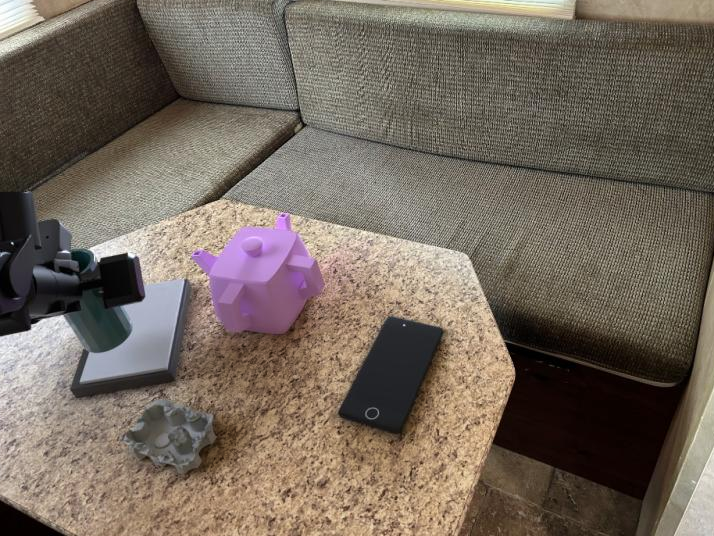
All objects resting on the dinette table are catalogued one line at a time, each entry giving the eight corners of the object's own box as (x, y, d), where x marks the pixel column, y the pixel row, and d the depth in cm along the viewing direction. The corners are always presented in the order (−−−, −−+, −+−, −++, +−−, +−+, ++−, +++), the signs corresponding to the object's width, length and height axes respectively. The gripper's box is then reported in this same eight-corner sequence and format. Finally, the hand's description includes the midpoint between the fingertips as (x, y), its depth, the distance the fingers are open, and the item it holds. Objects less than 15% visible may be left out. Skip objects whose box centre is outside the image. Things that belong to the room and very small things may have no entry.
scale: (75, 398, 86) (67, 386, 84) (107, 300, 101) (101, 289, 99) (175, 381, 86) (169, 369, 85) (191, 287, 102) (187, 275, 100)
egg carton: (123, 456, 78) (110, 439, 75) (161, 409, 83) (150, 390, 80) (190, 482, 74) (179, 464, 72) (225, 430, 79) (216, 412, 77)
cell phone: (337, 417, 79) (336, 413, 79) (388, 319, 92) (388, 315, 91) (400, 436, 76) (400, 431, 76) (444, 332, 89) (444, 327, 88)
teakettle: (237, 359, 89) (213, 299, 81) (203, 292, 100) (180, 234, 92) (340, 309, 95) (328, 249, 87) (297, 251, 106) (282, 194, 98)
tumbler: (108, 358, 82) (64, 289, 74) (72, 346, 84) (26, 277, 76) (142, 322, 86) (105, 254, 78) (107, 312, 89) (68, 244, 81)
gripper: (105, 203, 69) (149, 222, 84) (-69, 236, 67) (9, 250, 82) (122, 299, 68) (163, 301, 83) (-55, 336, 65) (21, 331, 81)
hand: (90, 294), depth 82 cm, fingers closed on tumbler, 7 cm apart
